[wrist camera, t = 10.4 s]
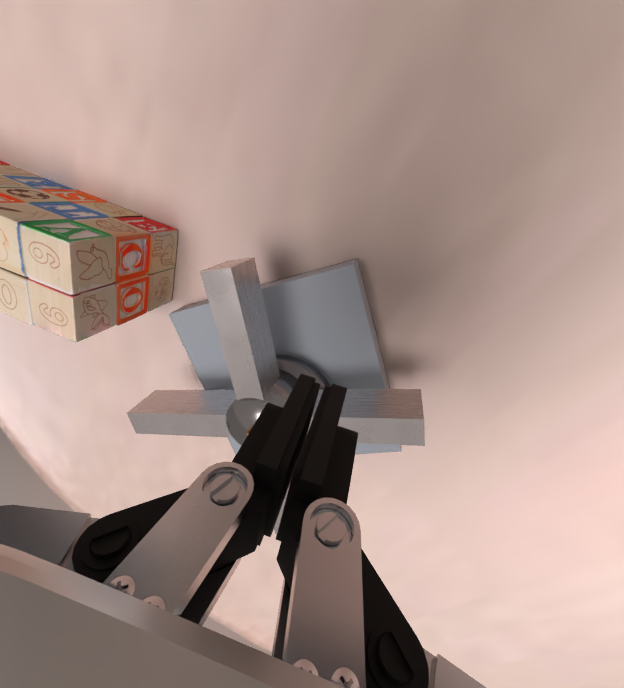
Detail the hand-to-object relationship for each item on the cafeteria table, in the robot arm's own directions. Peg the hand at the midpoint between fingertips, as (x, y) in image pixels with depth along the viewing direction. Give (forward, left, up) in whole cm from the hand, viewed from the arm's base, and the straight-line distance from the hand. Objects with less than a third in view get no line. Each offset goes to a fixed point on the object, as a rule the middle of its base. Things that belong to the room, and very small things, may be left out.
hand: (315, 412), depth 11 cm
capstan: (+7, +5, -11) cm, 14 cm away
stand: (+7, +5, -13) cm, 16 cm away
